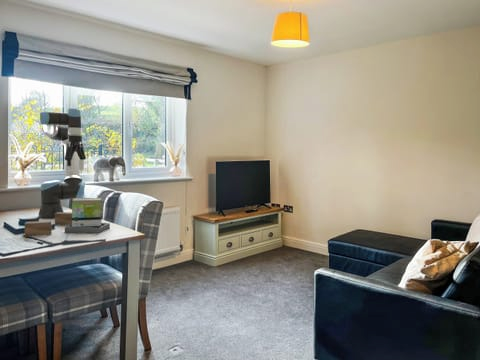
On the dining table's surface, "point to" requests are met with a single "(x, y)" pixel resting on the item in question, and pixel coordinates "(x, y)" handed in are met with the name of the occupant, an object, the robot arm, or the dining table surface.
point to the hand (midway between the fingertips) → (75, 171)
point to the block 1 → (37, 228)
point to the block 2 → (63, 218)
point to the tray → (87, 229)
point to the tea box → (86, 212)
